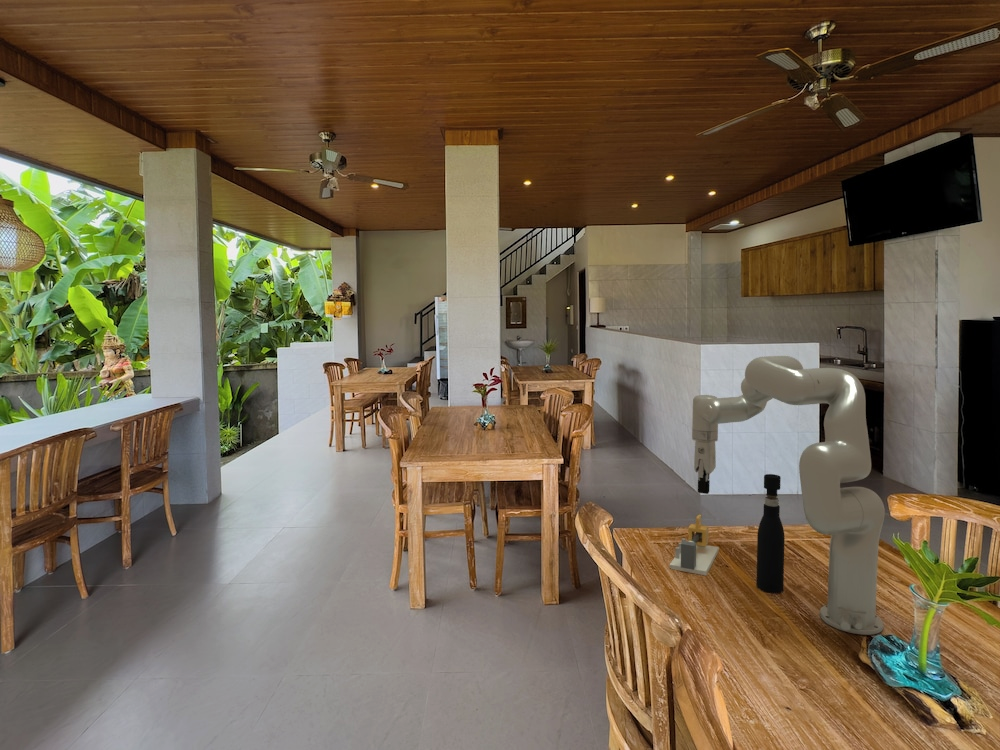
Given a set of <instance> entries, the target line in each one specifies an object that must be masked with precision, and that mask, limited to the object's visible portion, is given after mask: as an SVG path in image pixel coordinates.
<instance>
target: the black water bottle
mask: <svg viewBox="0 0 1000 750" xmlns="http://www.w3.org/2000/svg"><path fill="white" fill-rule="evenodd" d="M781 479H782V478H781V476H780V475H779V474H772V473H769V474H768V473H767V474H766V473H765V474H764V476H763V488H764V489H765V490H766V493H765V495H766V496H765V498H764V504H763V514H762V517H761V520H760V522H759V526H758V529H757V537H756V538H757V539H756V540H757V541H756V543H757V544H756V588H757V589H758V590H760V591H762V592H764V593H768V594H780V593H783V591H784V582H785V581H784V580H785V579H784V578H785V577H784V576H785V575H784V573H785V540H786V539H785V538H786V537H785V530H784V526H783V524H782V523H783V522H782V520H781V517H780V505H779V501H780V500H779V498H778V491H780V490H781Z"/></svg>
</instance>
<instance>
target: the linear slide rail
mask: <svg viewBox="0 0 1000 750" xmlns="http://www.w3.org/2000/svg"><path fill="white" fill-rule="evenodd" d="M700 538H702V533H699V532H695V536H694V537H693V539H692V540H691V541H688V540H687V538H685V537H684V538H681V542H678V546H675V556H674V558H673V559H672V560H671V562H670V564H669V569H670V568H671V569H670V570H674V569H675V571H681V572H684V573H685V572H686V573H690V574H696V575H702V576H705V577H706V576H707V575H708V573H709V571H710V569H711V568H712V565H713V563H714V561H715V559H716V557H717V555H718V554H719V550H720V547H719V546H713V545H708V544H707V545H706V547H705V546H699V545H696V543H697V542H698V540H699V539H700Z"/></svg>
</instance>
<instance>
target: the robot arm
mask: <svg viewBox="0 0 1000 750" xmlns="http://www.w3.org/2000/svg"><path fill="white" fill-rule="evenodd" d="M740 391H741V395H739V396H731V397H719V398H718V397H717V396H715V395H709V394H699V395H695V396H694V397H693V398H692V419H691V420H692V424H691V425H692V426H691V427H692V428H691V439H692V440H693V441H694V443H695V444H694V461H693V462H694V465H693V467H694V472H695V473H697V477H698V478H697V493H698V494H705V495H708V494H709V493H710V483H711V482H710V475H711V474H712V473H713V472H714V470H715V469H716V468H717V467H716V465H717V464H716V461H717V460H716V459H717V458H716V457H717V455H716V453H717V452H716V450H717V449H716V442H718V441H719V440H718V439H719V438H718V437H719V435H718V434H719V433H718V432H719V425H720V424H730V423H731V424H732V423H741V422H745V421H748V420H750V419H752V418H754V417H756V416H757V415H759V414H761V413H762V412H763V411H764V410H765V408H766V407H767V403H768V402H769V401H770V400H772V399H775V400H777V401H779V402H781V403H784V404H787V405H790V406H791V405H792V406H807V405H819V404H828V405H829V406H828V408H827V410H826V412H825V415H824V420H823V427H824V428H823V429H824V438H825V439H824V441H821V442H816V443H811V444H809V445H808V446H806V448H805V449H804V450H802V453H801V455H800V458H799V462H798V470H799V480H800V482H799V483H800V488H801V489H800V491H801V498H802V507H803V512H804V513H803V514H804V516H805V519H806V521H807V523H808V525H809V526H810V527H811V528H812V530H814V531H815V532H816V533H819V534H821V535H824V536H825V535H827V536H830V541H829V552H828V575H827V576H828V577H827V578H828V581H827V583H828V584H827V604H825V605H823V606H821V607H820V608H819V617H820V618H821V620H823V622H824V623H826V624H827V625H829V626H830V627H833V628H835V629H837V630H840V631H843V632H847V633H850V634H855V635H862V636H863V635H864V636H865V635H866V636H867V635H868V636H870V635H871V636H872V635H876V634H879V633H881V632H882V631H883V630H884V622H883V620H882V619H881V617H879V616H878V615H877V614H876V613H877V612H876V611H877V587H878V562H879V544H880V536H881V534H882V533H881V532H882V529H883V524H884V520H885V515H886V510H885V505H884V502H883V500H882V498H881V497H880V496H879V495H878V494H877V493H876V491H873V490H872V489H870V488H867V487H864V486H849V487H841V484H844V483H850V482H851V483H852V482H856V481H860V480H863V479H865V478H867V477H868V476H869V475H870V473H871V471H872V458H871V456H872V455H871V450H870V439H869V434H868V433H869V432H868V425H867V418H866V417H867V415H866V411H867V410H866V406H867V405H866V404H867V403H866V392H865V388H864V386H863V384H862V383H861V381H860V380H859V378H858V377H857V376H856V375H854V374H853V373H852V372H850V371H847V370H844V369H841V368H836V367H835V368H834V367H819V368H818V367H815V368H804V367H803V364H802V363H801V362H800V361H799V360H798V359H797V358H795V357H793V356H788V355H772V356H771V355H769V356H758V357H754V358H753V359H752V360H751V361H750V362H749V363H748V364H747V365H746V367H745V370H744V378H743V380H741V383H740Z"/></svg>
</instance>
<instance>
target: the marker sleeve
mask: <svg viewBox="0 0 1000 750" xmlns="http://www.w3.org/2000/svg"><path fill="white" fill-rule="evenodd" d="M687 529H688V531H687V532H688V534H687V535H688V538H687V539H688V540H687V541H691V540H692V539H693V537H694V536H695V534H696V532H699V533H702V538H700V539H699V540H698V542H697V543H696V545H699V546H705V547H706V545H708V543H709V525H704V524H702V514H698V515H696V517H695V523H690V525H689V526H688V528H687Z"/></svg>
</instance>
